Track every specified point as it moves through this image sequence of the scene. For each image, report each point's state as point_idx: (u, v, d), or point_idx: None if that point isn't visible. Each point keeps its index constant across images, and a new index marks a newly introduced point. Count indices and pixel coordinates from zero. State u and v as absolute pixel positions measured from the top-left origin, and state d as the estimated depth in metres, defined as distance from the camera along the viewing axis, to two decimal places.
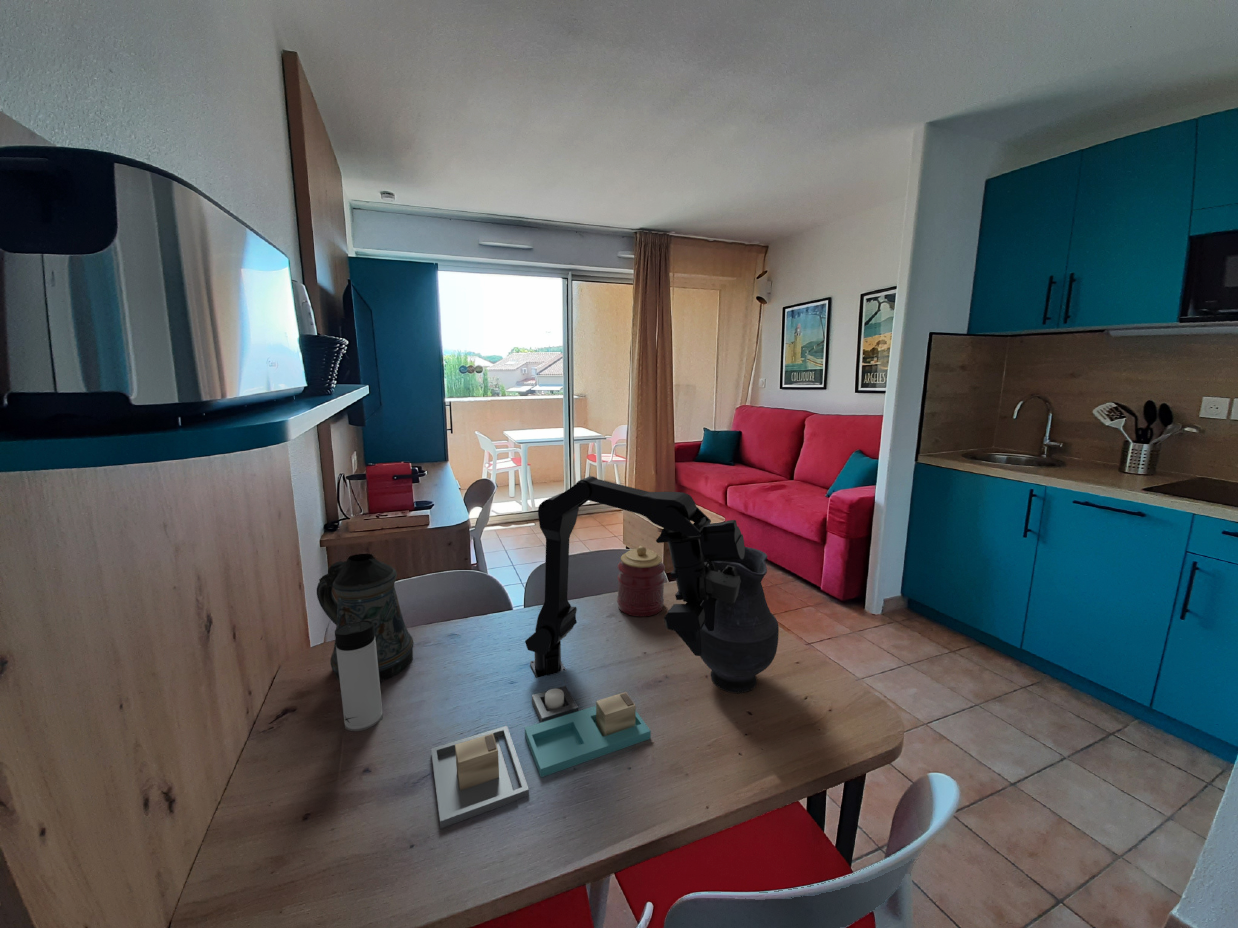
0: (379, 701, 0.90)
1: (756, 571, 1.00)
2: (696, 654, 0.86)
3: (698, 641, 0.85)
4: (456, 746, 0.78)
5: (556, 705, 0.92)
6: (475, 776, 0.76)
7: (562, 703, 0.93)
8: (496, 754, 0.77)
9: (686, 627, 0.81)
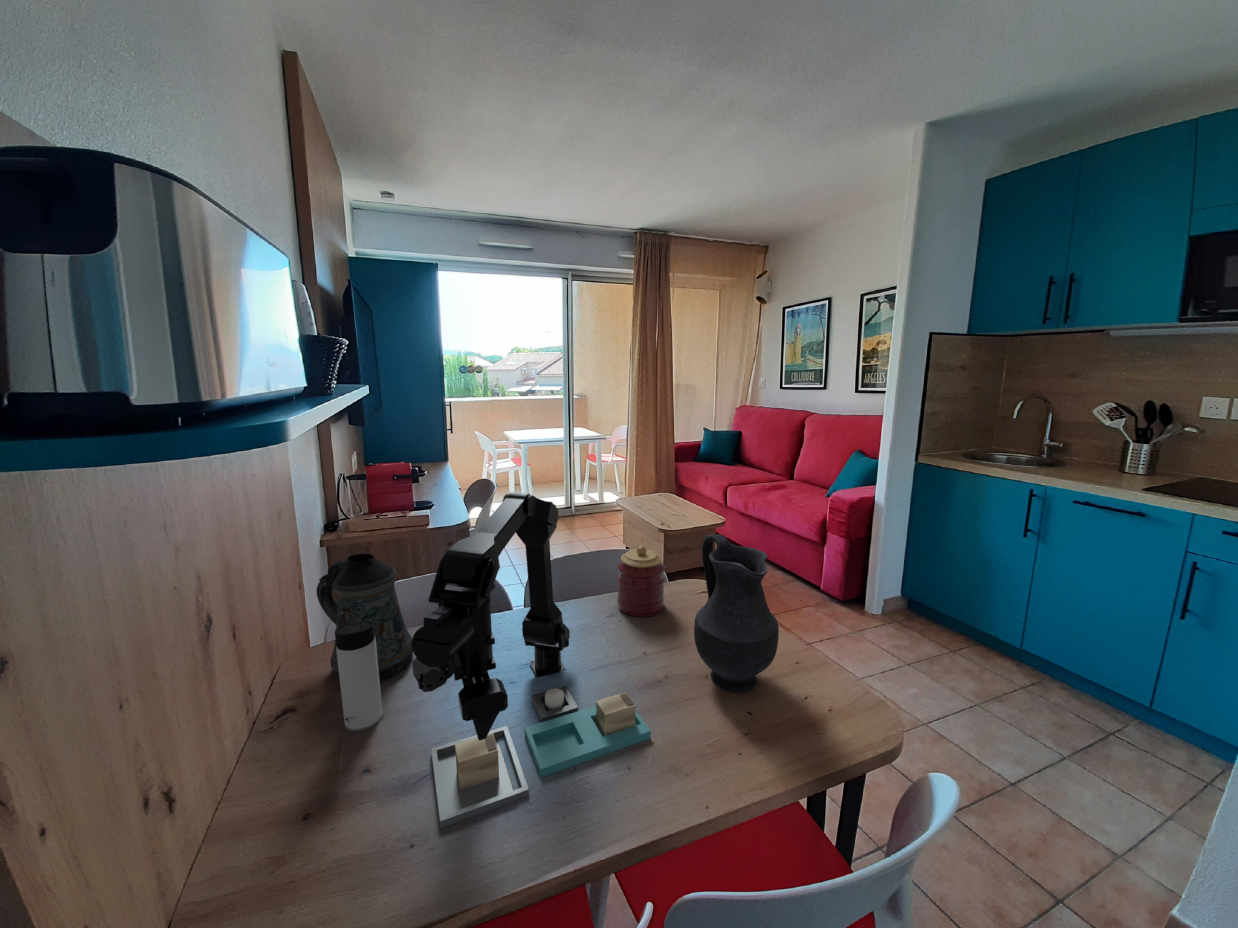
0: (379, 701, 0.90)
1: (756, 571, 1.00)
2: None
3: None
4: (456, 746, 0.78)
5: (556, 705, 0.92)
6: (475, 776, 0.76)
7: (562, 703, 0.93)
8: (496, 754, 0.77)
9: None
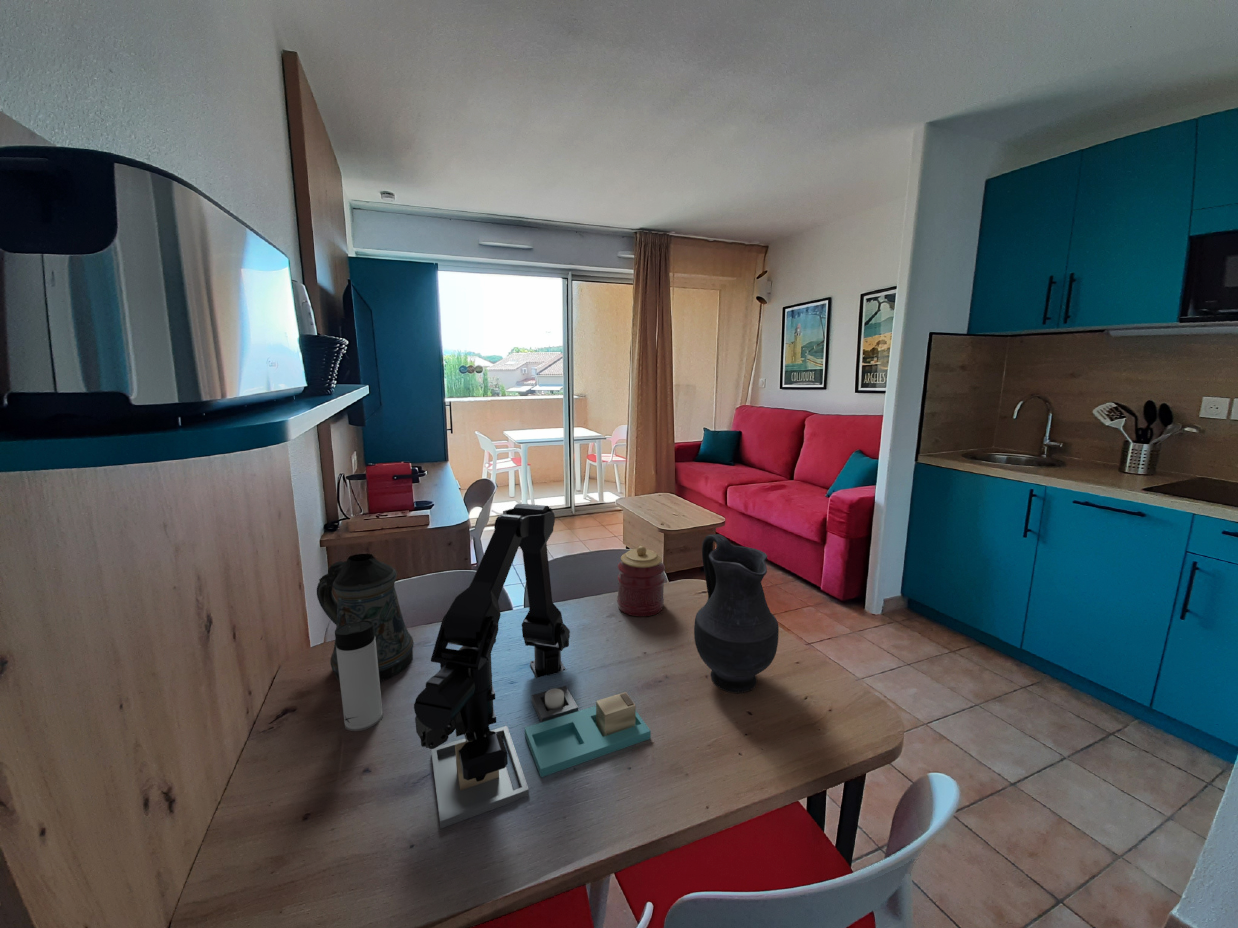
0: (379, 701, 0.90)
1: (756, 571, 1.00)
2: None
3: None
4: (456, 746, 0.78)
5: (556, 705, 0.92)
6: None
7: (562, 703, 0.93)
8: None
9: None
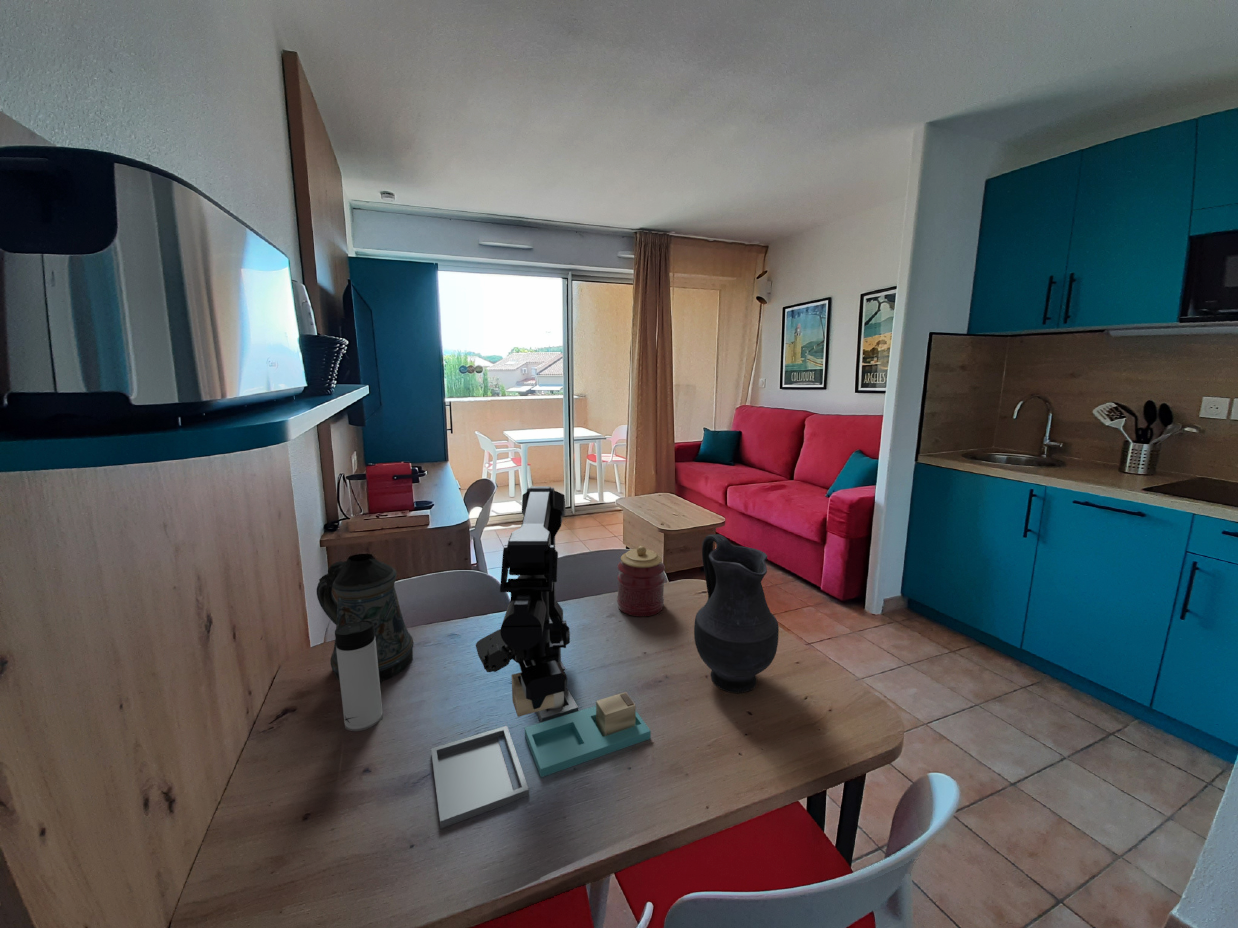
0: (379, 701, 0.90)
1: (756, 571, 1.00)
2: None
3: (522, 672, 0.83)
4: (513, 676, 0.80)
5: (556, 705, 0.92)
6: None
7: (562, 703, 0.93)
8: None
9: None
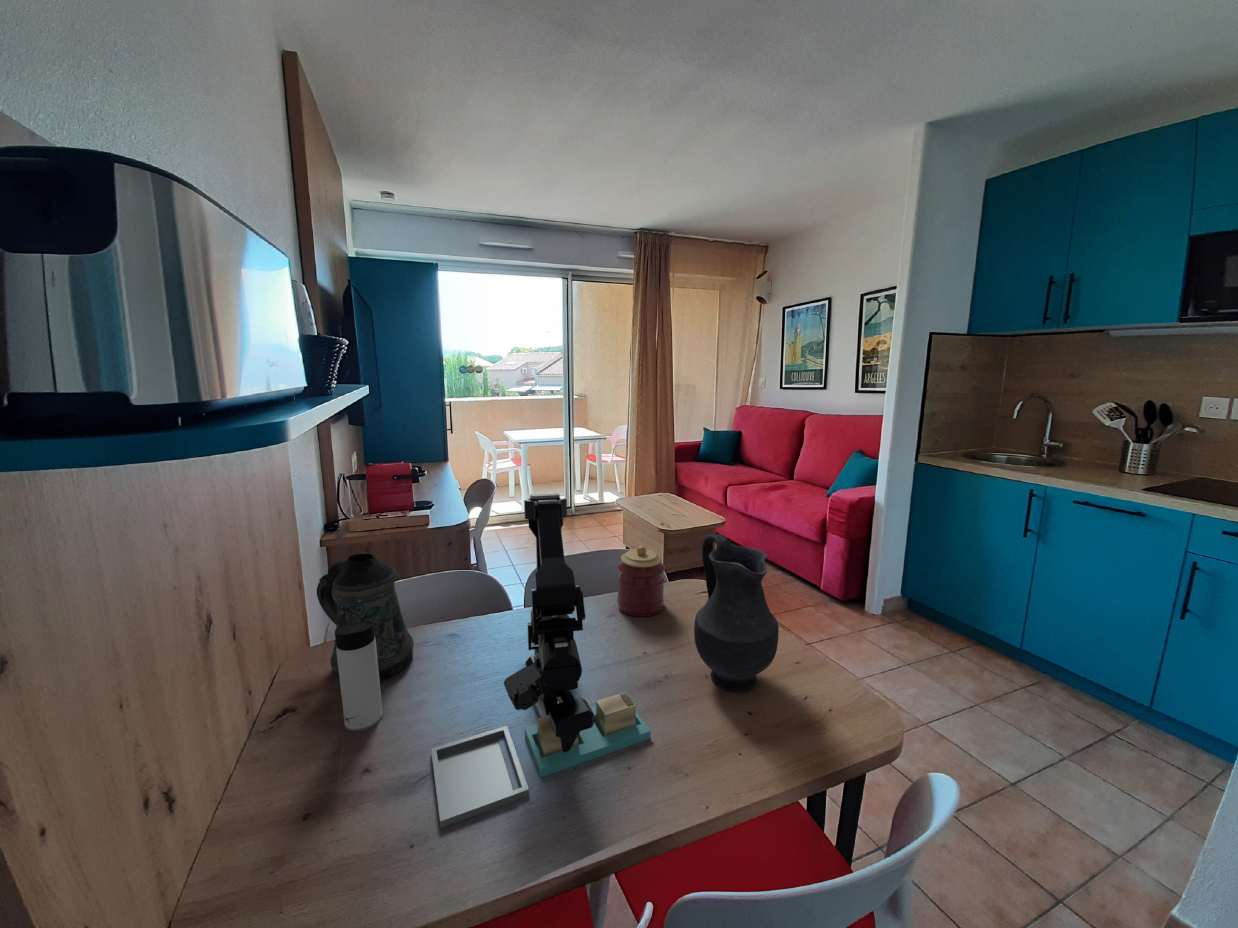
0: (379, 701, 0.90)
1: (756, 571, 1.00)
2: None
3: (542, 699, 0.88)
4: (538, 720, 0.84)
5: None
6: (557, 747, 0.82)
7: None
8: None
9: None
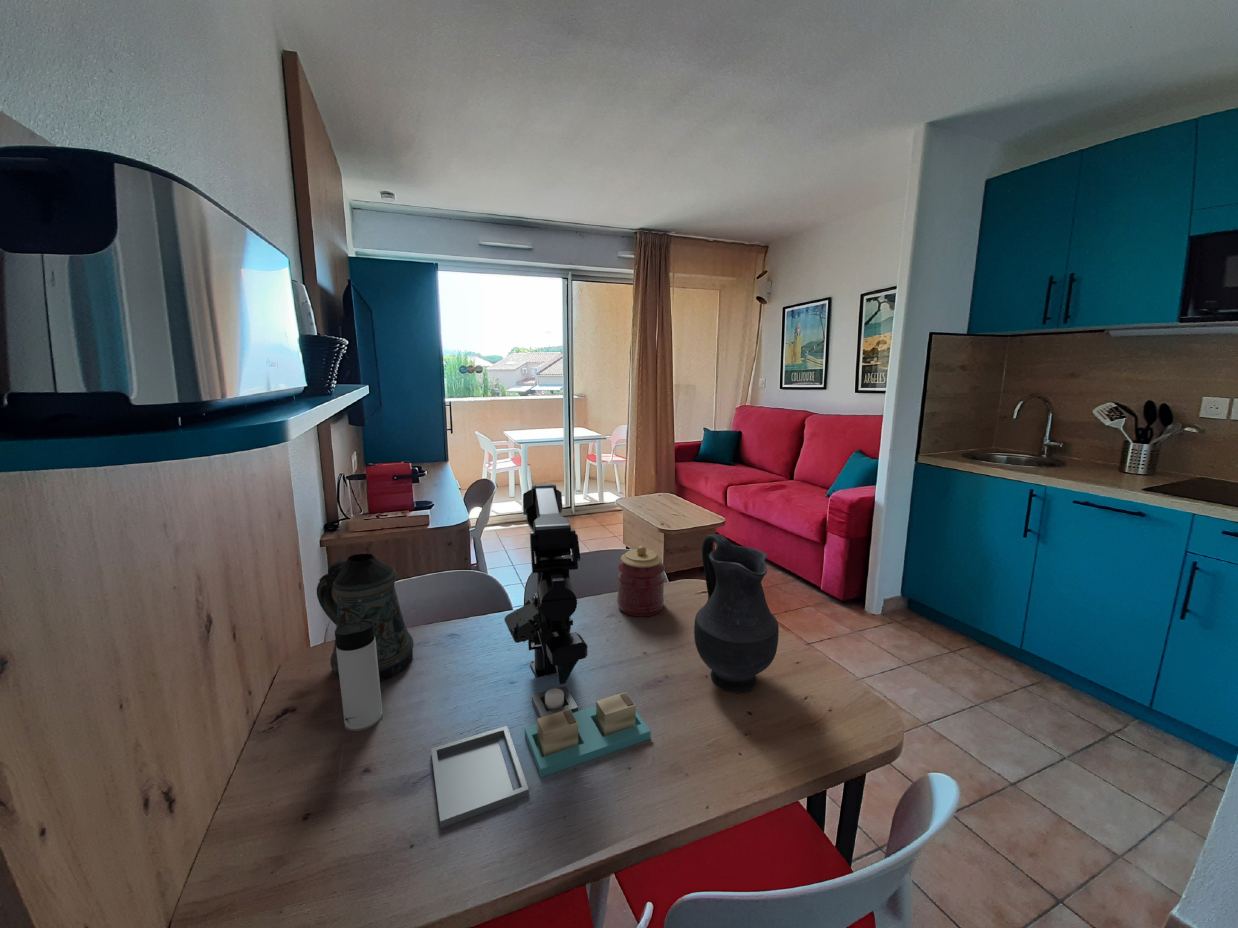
0: (379, 701, 0.90)
1: (756, 571, 1.00)
2: (547, 651, 0.95)
3: (540, 637, 0.94)
4: (538, 720, 0.84)
5: (556, 705, 0.92)
6: (557, 747, 0.82)
7: (562, 703, 0.93)
8: (576, 727, 0.83)
9: None
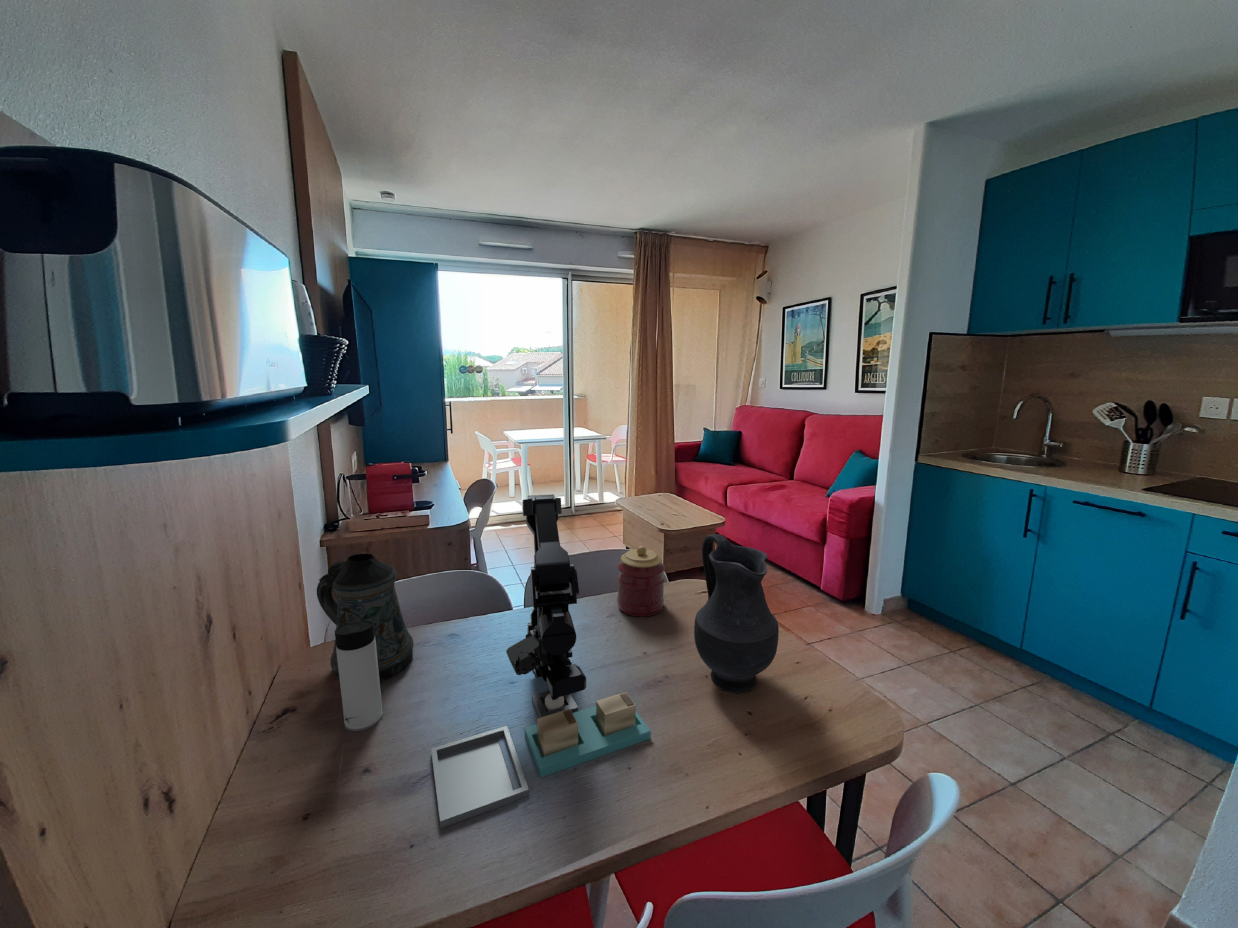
0: (379, 701, 0.90)
1: (756, 571, 1.00)
2: None
3: None
4: (538, 720, 0.84)
5: None
6: (557, 747, 0.82)
7: None
8: (576, 727, 0.83)
9: None
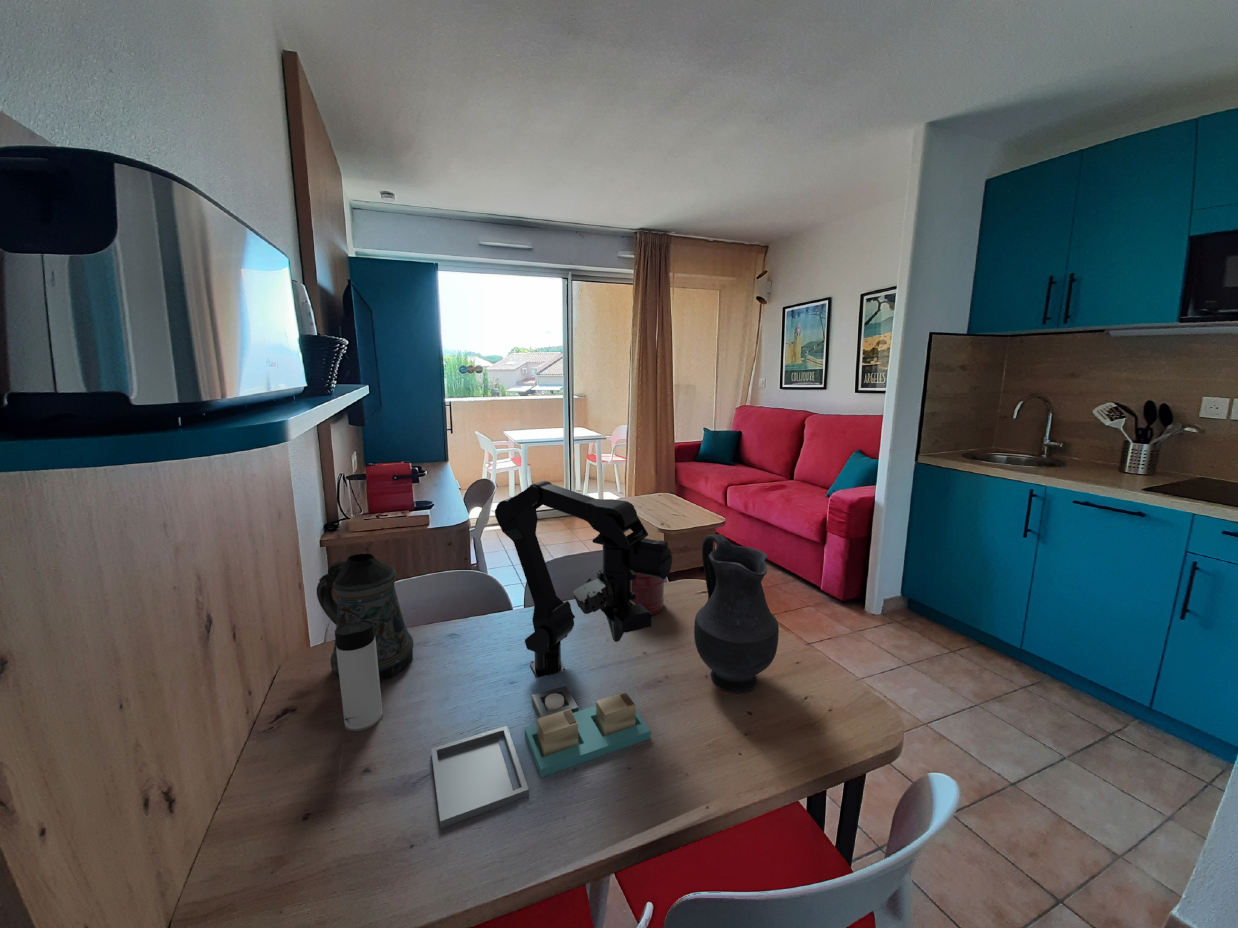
0: (379, 701, 0.90)
1: (756, 571, 1.00)
2: None
3: (609, 623, 0.97)
4: (538, 720, 0.84)
5: None
6: (557, 747, 0.82)
7: None
8: (576, 727, 0.83)
9: None
